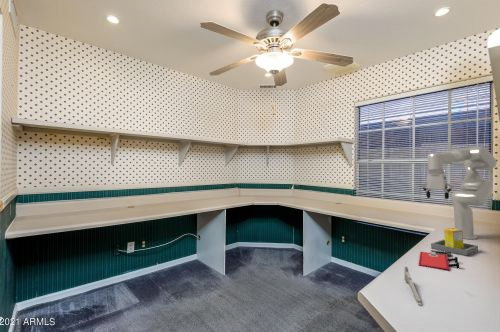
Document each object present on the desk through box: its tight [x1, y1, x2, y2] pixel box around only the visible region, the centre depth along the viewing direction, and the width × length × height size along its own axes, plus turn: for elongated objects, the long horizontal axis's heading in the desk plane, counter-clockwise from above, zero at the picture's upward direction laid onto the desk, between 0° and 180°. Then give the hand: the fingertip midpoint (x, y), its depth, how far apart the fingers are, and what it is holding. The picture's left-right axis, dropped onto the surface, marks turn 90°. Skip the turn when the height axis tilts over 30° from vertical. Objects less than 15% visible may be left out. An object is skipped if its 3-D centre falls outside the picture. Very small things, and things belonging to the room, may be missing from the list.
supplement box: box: [443, 227, 464, 249], centre depth 136 cm, size 6×6×11 cm
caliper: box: [403, 266, 423, 307], centre depth 88 cm, size 20×1×6 cm, turn 158°
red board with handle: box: [418, 249, 460, 272], centre depth 120 cm, size 30×3×15 cm
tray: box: [430, 238, 479, 257], centre depth 136 cm, size 16×16×3 cm
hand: (437, 198), depth 156 cm, fingers open, 9 cm apart
